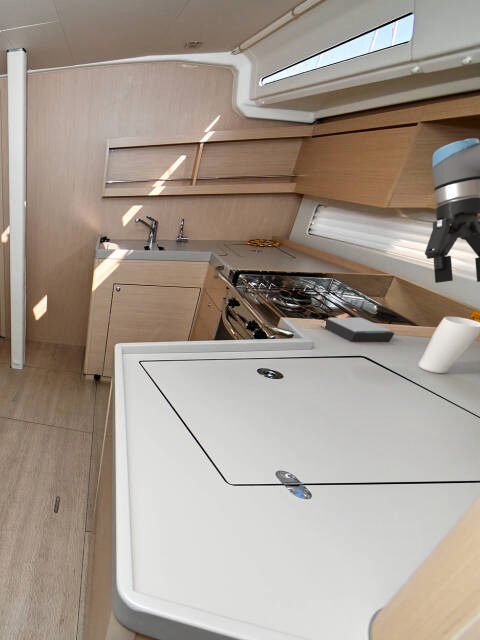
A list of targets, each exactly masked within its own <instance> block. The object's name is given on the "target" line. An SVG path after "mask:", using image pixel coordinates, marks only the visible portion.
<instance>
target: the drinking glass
mask: <svg viewBox="0 0 480 640" xmlns="http://www.w3.org/2000/svg"><path fill="white" fill-rule="evenodd" d="M479 334H480V322H479V321H477V320H473V319H469V318H465V317H458V316H444V317H443V318H442V319H441V320H440V322H439V323H438V325H437V327H436V328H435V330H434V332H433V333H432V336H431V338H430V340H429V342H428V344H427V346H426V348H425V350H424V353H423V354H422V357H421V358H420V360H419V361H418V363H417V366H418V367H419V368H420V369H422V370H424V371H427V372H431V373H435V374H445V373H447V372H448V371H449V370H450V368H451V367H452V366H453V364H454V363H455V362H456V361H457V360H458V359H459V358H460V357H461V356H462V354H463V353H464V352H465V351H466V349H468V347H470V346H471V344H472V343H473V342H474V341H475V339H476V338H478V335H479Z"/></svg>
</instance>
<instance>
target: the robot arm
mask: <svg viewBox="0 0 480 640" xmlns="http://www.w3.org/2000/svg"><path fill="white" fill-rule="evenodd" d="M431 168H432V178H433V180H432V181H433V189H434V197H433V199H434V201H435V206H437V207H436V208H435V218H436V220H435V221H433V222H432V231H431V233H430V237H429V239H428V242H427V246H426V248H425V251H424V256H426V259H428V260H431V259H432V260H433V273H434V283H435V284H438V283H445V282H453V281H454V280H453V278H454V277H453V266H452V256H451V255H448V254H449V253H450V251H451V250H452V248H453V246H454V245H455V244H456V241H457V240H458V239H461V240H462V241H463V240H464V241H465V242H466V243H467V244H468V246H469V247H470V248H471V249H472V251H473V252H474V253H475V255H476V256H477V257H475V258H474V260H475V273H476V282H477V283H480V219H478V215H480V139H479V138H473V137H472V138H466V139H463V140H457V141H454V142H451V143H449V144H446V145H444V146H441V147H440V148H438V149H436V150H435V151H434V153H433V155H432V167H431Z"/></svg>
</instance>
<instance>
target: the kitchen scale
mask: <svg viewBox="0 0 480 640" xmlns="http://www.w3.org/2000/svg"><path fill="white" fill-rule="evenodd" d="M323 320H324V321H326V326H325V330H327V331H328V332H330V333H332V334H334V335H336V336H339V337H340V338H342V339H344V340H346V341H348V342H350V343H364V342H365V343H390V342H391V340H392V338H393V337H394V336H395V332H393V331H392V330H391V329H389V328H386V327H385V326H382V325H379V324H377V323H375V322H372V321H370V320H368V319H366V318H363V317H327V318H323Z"/></svg>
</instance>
